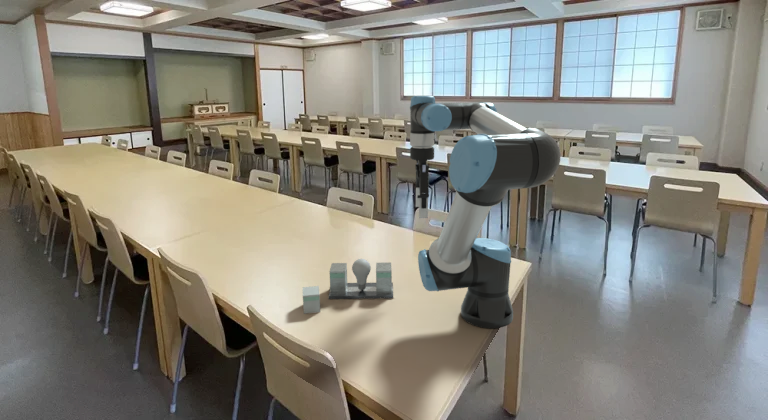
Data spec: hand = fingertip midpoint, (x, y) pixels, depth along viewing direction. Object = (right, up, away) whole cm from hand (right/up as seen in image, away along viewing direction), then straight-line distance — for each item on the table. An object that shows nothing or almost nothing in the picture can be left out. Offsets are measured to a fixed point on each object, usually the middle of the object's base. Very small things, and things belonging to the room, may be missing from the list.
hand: (421, 212), depth 145 cm
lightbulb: (-20, -26, +3) cm, 33 cm away
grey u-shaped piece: (-20, -27, +4) cm, 33 cm away
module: (-35, -30, -6) cm, 46 cm away
